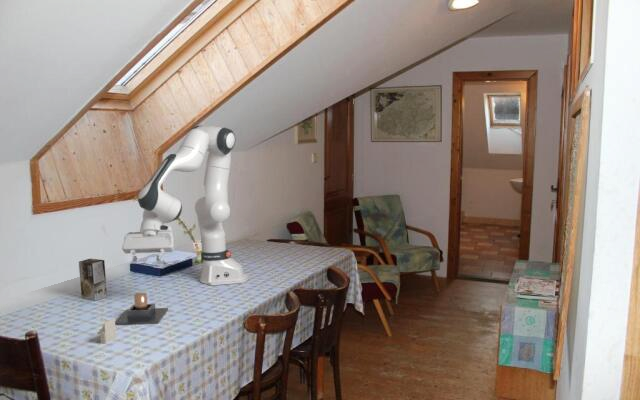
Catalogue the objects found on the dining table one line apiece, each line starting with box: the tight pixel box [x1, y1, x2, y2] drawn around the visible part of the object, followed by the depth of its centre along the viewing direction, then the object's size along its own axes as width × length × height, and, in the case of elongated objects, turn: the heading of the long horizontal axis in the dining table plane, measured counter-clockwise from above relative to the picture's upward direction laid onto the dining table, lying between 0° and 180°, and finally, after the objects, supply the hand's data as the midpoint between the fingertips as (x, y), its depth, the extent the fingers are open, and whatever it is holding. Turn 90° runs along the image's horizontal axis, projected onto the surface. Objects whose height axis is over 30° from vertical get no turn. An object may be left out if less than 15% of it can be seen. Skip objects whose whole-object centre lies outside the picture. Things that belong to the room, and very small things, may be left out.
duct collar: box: [115, 303, 169, 326], centre depth 211 cm, size 16×16×4 cm
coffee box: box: [78, 258, 108, 301], centre depth 238 cm, size 9×6×16 cm
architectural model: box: [95, 317, 118, 345], centre depth 188 cm, size 3×7×7 cm, turn 165°
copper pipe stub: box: [134, 292, 148, 310], centre depth 211 cm, size 4×4×8 cm
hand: (146, 260), depth 220 cm, fingers open, 8 cm apart
